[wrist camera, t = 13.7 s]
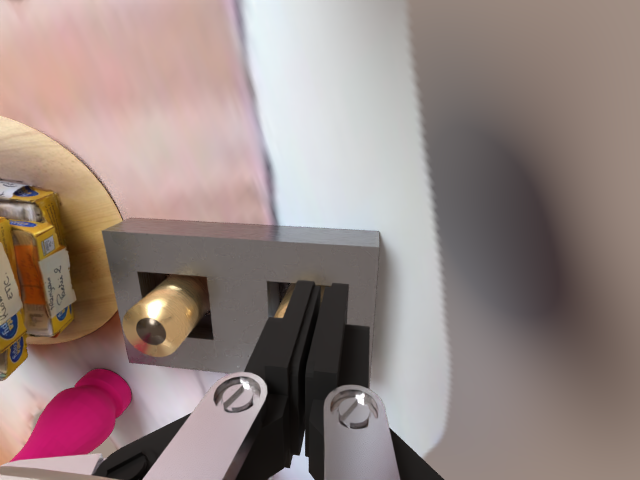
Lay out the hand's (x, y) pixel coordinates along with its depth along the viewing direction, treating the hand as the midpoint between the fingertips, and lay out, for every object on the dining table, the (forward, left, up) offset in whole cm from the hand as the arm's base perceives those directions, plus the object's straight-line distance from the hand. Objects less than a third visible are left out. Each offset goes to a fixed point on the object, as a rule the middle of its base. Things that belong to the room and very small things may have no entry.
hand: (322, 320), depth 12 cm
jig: (+11, -10, -21) cm, 25 cm away
